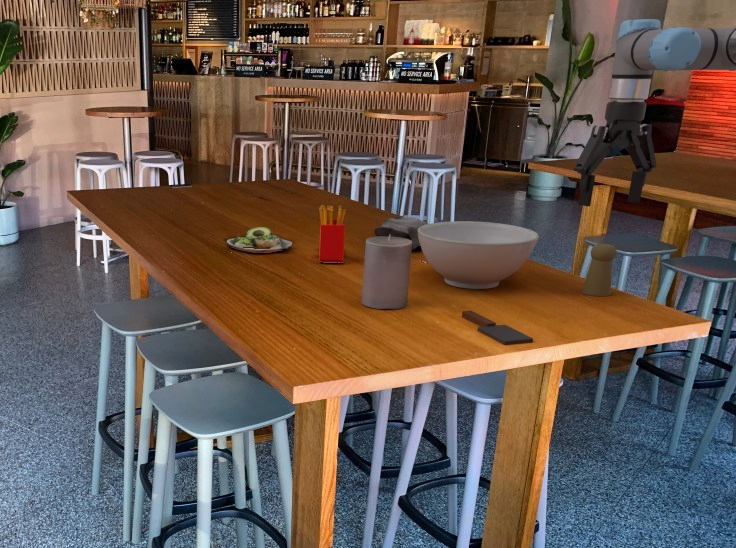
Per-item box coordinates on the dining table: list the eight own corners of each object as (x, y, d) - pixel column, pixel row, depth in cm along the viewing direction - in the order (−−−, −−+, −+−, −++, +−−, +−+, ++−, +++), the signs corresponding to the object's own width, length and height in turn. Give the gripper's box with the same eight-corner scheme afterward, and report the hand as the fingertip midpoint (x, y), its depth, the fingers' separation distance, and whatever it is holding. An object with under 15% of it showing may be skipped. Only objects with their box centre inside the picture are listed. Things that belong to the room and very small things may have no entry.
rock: (367, 241, 232) (369, 214, 229) (401, 239, 235) (403, 212, 232) (399, 254, 216) (401, 225, 213) (435, 252, 219) (438, 223, 216)
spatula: (532, 342, 146) (533, 335, 146) (504, 344, 145) (505, 338, 145) (478, 315, 163) (479, 309, 162) (452, 317, 161) (453, 311, 161)
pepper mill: (575, 290, 180) (583, 242, 176) (597, 288, 182) (606, 240, 178) (594, 297, 175) (603, 248, 171) (617, 295, 177) (626, 246, 172)
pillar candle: (378, 295, 177) (383, 228, 171) (416, 303, 170) (422, 234, 165) (352, 303, 171) (356, 234, 165) (389, 313, 164) (395, 241, 159)
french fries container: (317, 264, 206) (319, 209, 200) (316, 256, 214) (318, 204, 209) (344, 264, 205) (347, 210, 200) (343, 256, 213) (345, 204, 208)
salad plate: (309, 250, 220) (310, 234, 219) (257, 258, 212) (257, 241, 210) (269, 239, 236) (270, 223, 234) (219, 246, 227) (218, 230, 225)
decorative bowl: (543, 278, 191) (551, 228, 186) (513, 304, 170) (521, 248, 166) (435, 264, 205) (440, 217, 200) (396, 286, 184) (400, 235, 179)
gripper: (658, 99, 172) (640, 198, 180) (566, 101, 165) (550, 204, 172) (687, 100, 166) (667, 203, 174) (592, 102, 158) (575, 209, 166)
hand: (609, 203), depth 173 cm, fingers open, 13 cm apart
